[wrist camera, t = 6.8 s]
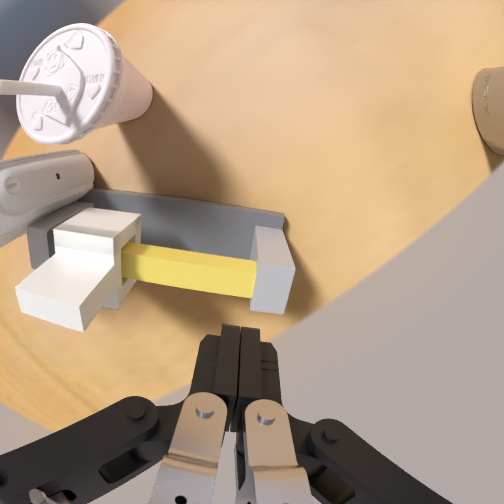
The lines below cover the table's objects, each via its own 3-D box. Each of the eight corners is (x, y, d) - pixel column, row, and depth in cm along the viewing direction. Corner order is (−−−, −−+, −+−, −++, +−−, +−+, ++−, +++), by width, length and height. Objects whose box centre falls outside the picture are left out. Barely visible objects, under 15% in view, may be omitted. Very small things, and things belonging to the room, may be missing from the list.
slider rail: (283, 213, 22) (301, 256, 15) (270, 271, 24) (280, 333, 16) (80, 186, 21) (19, 214, 13) (81, 241, 23) (29, 285, 15)
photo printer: (85, 140, 19) (-32, 157, 8) (104, 186, 21) (-6, 236, 9) (15, 194, 20) (-78, 237, 9) (31, 233, 22) (-57, 290, 10)
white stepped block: (141, 214, 17) (74, 274, 10) (140, 275, 19) (89, 356, 11) (89, 207, 17) (8, 258, 9) (91, 265, 19) (28, 335, 11)
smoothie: (106, 149, 20) (-32, 186, 7) (88, 79, 17) (-46, 60, 4) (179, 119, 19) (72, 105, 6) (159, 46, 17) (57, -35, 4)
